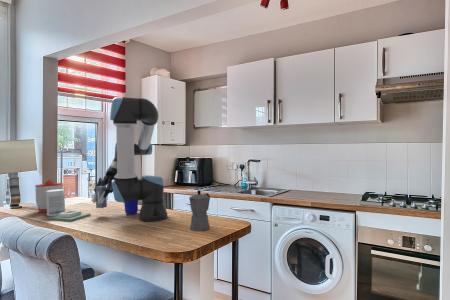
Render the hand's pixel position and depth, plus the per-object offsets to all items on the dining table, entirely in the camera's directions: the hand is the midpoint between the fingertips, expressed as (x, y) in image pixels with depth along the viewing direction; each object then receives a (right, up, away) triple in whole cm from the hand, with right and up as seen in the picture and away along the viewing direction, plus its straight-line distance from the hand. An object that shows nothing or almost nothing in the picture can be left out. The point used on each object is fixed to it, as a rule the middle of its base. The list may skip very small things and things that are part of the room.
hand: (96, 201), depth 170 cm
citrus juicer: (-40, -10, +23) cm, 47 cm away
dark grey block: (+1, -4, +4) cm, 5 cm away
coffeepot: (+61, -8, -29) cm, 68 cm away
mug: (+19, -8, +8) cm, 22 cm away
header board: (-15, -9, +1) cm, 18 cm away
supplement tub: (-28, -10, +9) cm, 31 cm away
